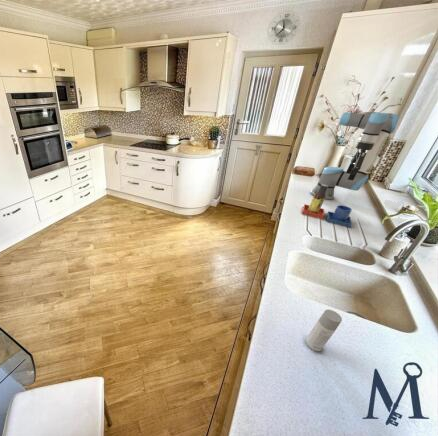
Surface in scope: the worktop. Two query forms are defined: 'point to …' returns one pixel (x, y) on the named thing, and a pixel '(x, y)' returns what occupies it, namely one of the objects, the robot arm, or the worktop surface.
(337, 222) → the blue tray
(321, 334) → the container
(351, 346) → the worktop surface
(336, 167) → the robot arm
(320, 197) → the sauce bottle
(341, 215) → the blue cup
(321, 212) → the red tray
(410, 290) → the worktop surface
